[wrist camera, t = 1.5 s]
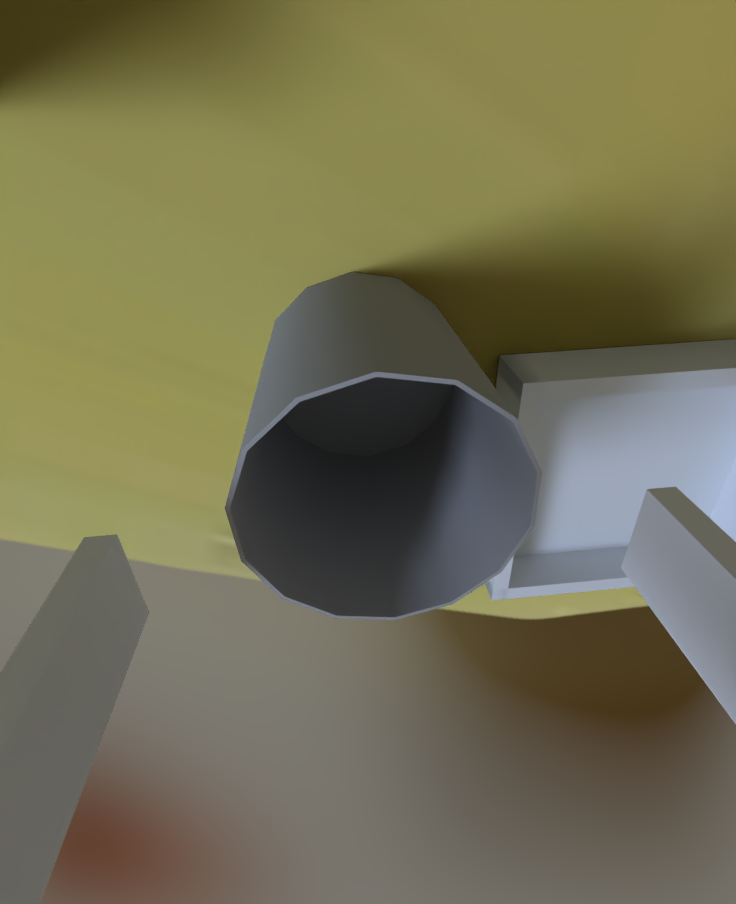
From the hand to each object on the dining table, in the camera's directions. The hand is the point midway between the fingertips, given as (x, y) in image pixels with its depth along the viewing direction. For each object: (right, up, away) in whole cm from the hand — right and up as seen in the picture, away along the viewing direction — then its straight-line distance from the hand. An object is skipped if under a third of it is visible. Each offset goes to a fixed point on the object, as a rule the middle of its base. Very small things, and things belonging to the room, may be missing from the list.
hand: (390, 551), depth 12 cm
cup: (-1, +6, +9) cm, 11 cm away
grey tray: (+12, +2, +13) cm, 18 cm away
